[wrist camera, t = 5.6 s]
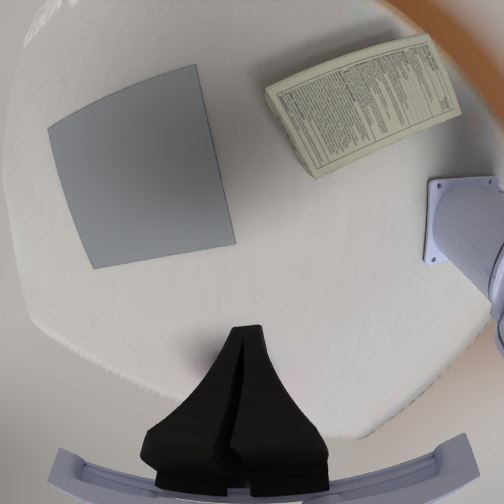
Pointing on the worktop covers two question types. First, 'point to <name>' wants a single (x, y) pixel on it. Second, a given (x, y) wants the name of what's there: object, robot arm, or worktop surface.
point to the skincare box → (362, 102)
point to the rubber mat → (143, 173)
